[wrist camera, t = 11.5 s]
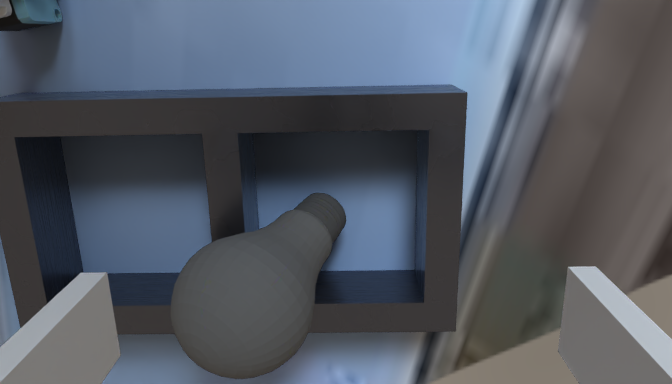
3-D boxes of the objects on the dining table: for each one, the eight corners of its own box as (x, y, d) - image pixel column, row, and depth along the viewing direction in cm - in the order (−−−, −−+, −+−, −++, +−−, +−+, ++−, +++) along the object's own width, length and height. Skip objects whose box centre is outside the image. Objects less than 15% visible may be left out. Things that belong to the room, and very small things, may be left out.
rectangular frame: (21, 93, 25) (-29, 102, 22) (450, 84, 25) (467, 92, 22) (60, 299, 28) (22, 335, 25) (442, 295, 28) (455, 331, 25)
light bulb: (307, 132, 24) (147, 272, 17) (404, 206, 24) (280, 381, 17) (272, 202, 28) (131, 338, 21) (354, 266, 28) (237, 427, 21)
